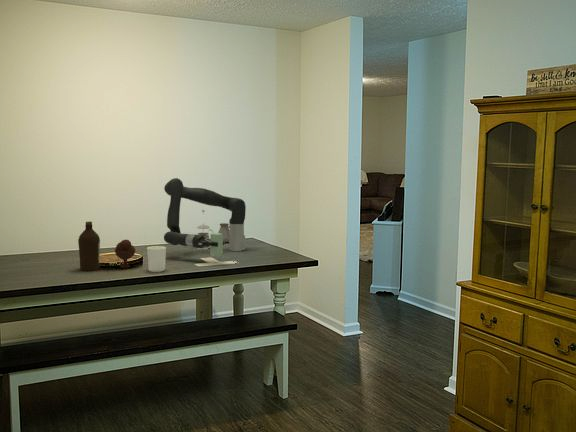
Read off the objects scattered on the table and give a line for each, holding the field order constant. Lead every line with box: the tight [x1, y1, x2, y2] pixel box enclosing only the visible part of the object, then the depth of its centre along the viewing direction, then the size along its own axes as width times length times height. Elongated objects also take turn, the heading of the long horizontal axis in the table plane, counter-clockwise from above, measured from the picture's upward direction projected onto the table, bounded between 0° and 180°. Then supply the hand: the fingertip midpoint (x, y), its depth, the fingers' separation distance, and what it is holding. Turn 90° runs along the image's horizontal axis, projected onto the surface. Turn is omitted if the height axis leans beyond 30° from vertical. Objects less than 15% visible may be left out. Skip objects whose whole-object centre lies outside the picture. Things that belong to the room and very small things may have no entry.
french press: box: [196, 209, 214, 250], centre depth 364 cm, size 10×12×25 cm
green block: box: [209, 232, 224, 257], centre depth 314 cm, size 5×5×12 cm
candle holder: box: [146, 245, 167, 273], centre depth 295 cm, size 10×10×12 cm
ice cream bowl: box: [114, 239, 136, 269], centre depth 302 cm, size 11×11×15 cm
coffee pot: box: [217, 222, 229, 242], centre depth 386 cm, size 21×12×15 cm, turn 31°
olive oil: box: [77, 221, 101, 272], centre depth 294 cm, size 11×11×25 cm
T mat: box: [194, 257, 238, 267], centre depth 322 cm, size 22×24×1 cm
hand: (220, 244), depth 313 cm, fingers closed on green block, 5 cm apart
